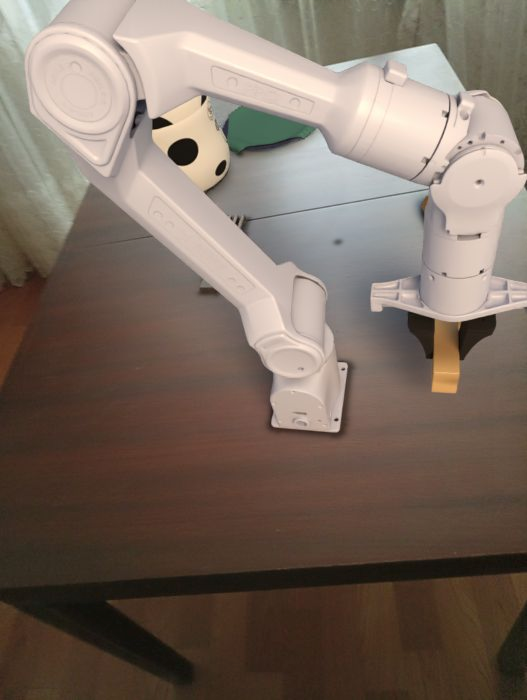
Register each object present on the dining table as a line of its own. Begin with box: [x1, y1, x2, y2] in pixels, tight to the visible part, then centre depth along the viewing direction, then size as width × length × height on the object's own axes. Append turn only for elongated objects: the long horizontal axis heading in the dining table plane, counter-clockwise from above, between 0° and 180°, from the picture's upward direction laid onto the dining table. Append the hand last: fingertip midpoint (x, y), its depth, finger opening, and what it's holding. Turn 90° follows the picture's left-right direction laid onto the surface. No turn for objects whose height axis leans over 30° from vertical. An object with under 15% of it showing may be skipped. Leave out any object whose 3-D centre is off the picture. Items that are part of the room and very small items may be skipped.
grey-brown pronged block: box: [199, 214, 247, 294], centre depth 79 cm, size 17×5×1 cm, turn 168°
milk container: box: [152, 95, 231, 194], centre depth 87 cm, size 17×17×18 cm
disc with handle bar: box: [430, 319, 461, 394], centre depth 53 cm, size 13×5×4 cm, turn 168°
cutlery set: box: [222, 105, 317, 154], centre depth 98 cm, size 20×30×2 cm, turn 90°
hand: (444, 352), depth 52 cm, fingers closed on disc with handle bar, 2 cm apart
